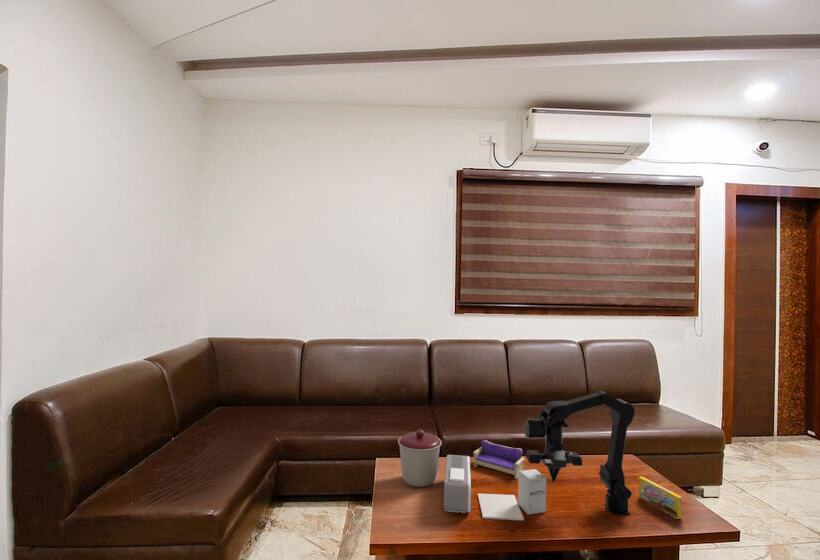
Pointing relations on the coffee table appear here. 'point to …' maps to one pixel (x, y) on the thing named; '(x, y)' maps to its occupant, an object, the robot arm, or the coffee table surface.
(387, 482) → the coffee table surface
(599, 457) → the coffee table surface
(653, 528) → the coffee table surface
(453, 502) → the grey boxy piece
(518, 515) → the white flat panel
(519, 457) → the toy sofa
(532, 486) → the supplement box
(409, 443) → the canister
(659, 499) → the candy box
